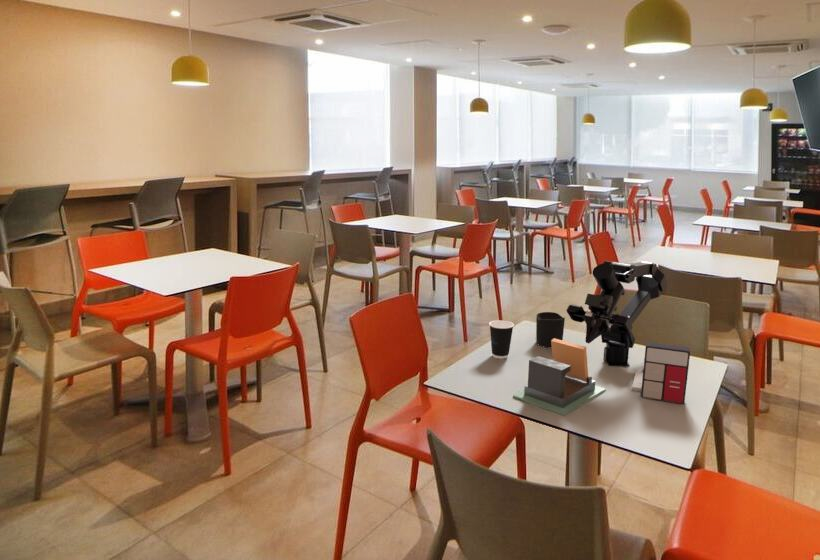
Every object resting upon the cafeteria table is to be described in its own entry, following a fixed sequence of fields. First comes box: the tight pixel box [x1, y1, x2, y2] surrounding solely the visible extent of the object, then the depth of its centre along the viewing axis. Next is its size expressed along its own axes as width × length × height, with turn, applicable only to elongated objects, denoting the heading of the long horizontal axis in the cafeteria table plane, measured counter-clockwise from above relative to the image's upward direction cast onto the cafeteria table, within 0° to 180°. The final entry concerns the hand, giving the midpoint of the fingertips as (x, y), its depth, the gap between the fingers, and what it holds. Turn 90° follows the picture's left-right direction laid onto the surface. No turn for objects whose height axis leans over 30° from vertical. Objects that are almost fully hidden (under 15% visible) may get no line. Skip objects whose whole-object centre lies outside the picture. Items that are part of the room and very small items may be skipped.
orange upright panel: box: [551, 338, 589, 382], centre depth 172 cm, size 2×10×11 cm, turn 43°
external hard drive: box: [631, 371, 643, 392], centre depth 178 cm, size 2×8×12 cm
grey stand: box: [523, 355, 596, 408], centre depth 170 cm, size 17×12×10 cm
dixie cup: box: [488, 319, 515, 360], centre depth 198 cm, size 8×8×11 cm
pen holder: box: [535, 311, 566, 348], centre depth 210 cm, size 9×9×10 cm
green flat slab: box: [512, 385, 606, 417], centre depth 171 cm, size 22×16×1 cm
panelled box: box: [640, 342, 691, 405], centre depth 166 cm, size 11×4×15 cm, turn 67°
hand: (587, 342), depth 178 cm, fingers closed
